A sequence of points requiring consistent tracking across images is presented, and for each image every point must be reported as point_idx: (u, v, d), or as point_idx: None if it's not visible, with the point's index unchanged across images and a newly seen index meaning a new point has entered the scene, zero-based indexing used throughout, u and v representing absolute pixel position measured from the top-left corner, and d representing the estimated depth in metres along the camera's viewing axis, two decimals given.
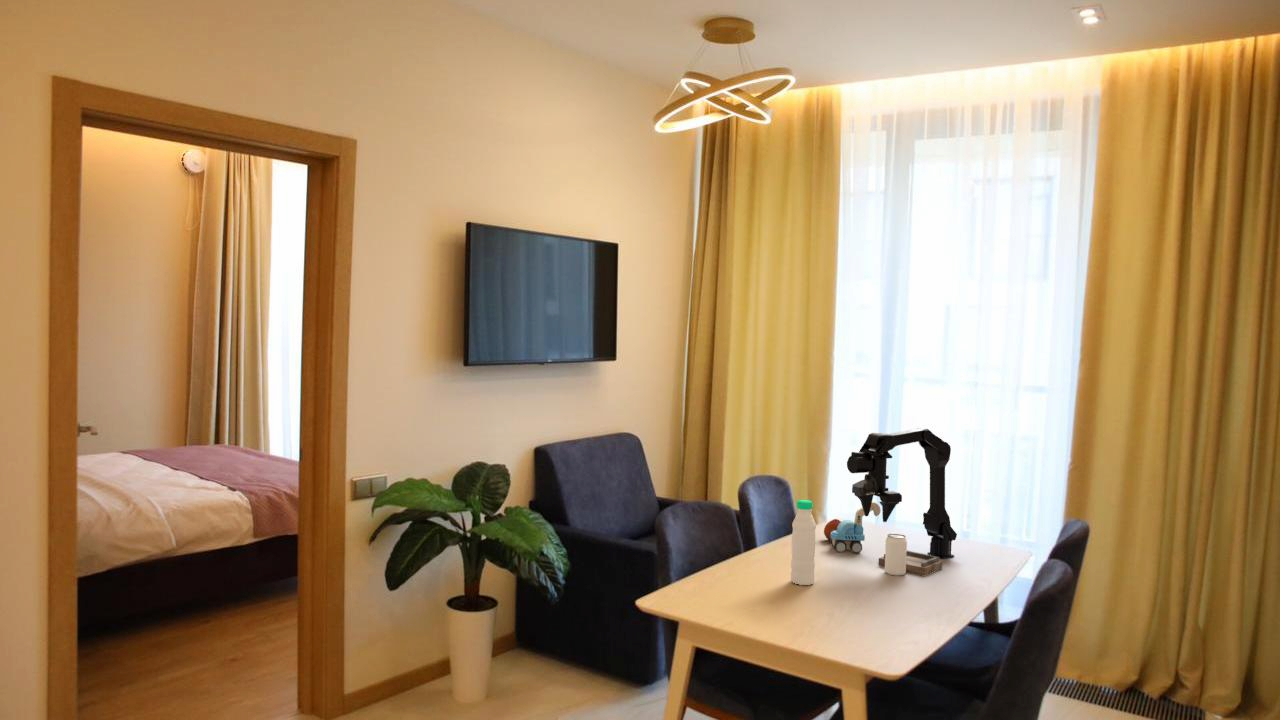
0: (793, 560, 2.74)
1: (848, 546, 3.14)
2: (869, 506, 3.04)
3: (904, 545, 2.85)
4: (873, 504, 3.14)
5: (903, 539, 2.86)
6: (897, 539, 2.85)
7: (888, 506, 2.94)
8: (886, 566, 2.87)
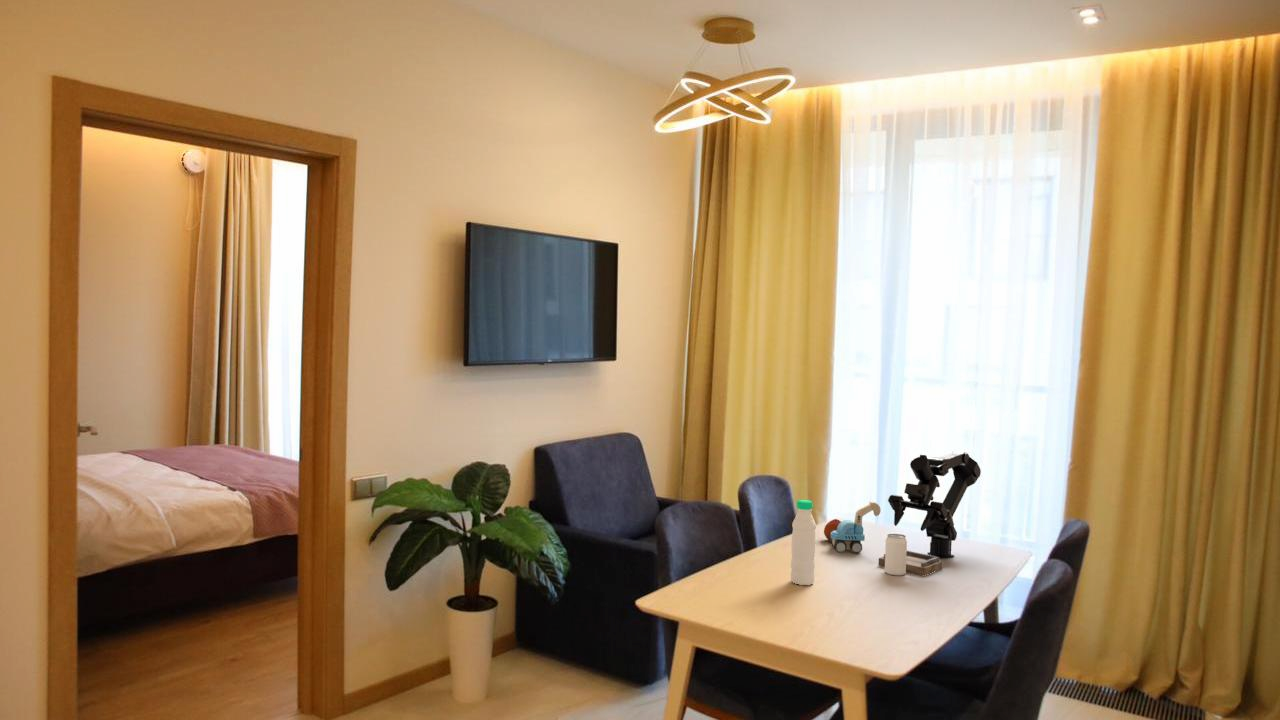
0: (793, 560, 2.74)
1: (848, 546, 3.14)
2: (899, 519, 2.99)
3: (904, 545, 2.85)
4: (873, 504, 3.14)
5: (903, 539, 2.86)
6: (897, 539, 2.85)
7: (930, 518, 2.92)
8: (886, 566, 2.87)
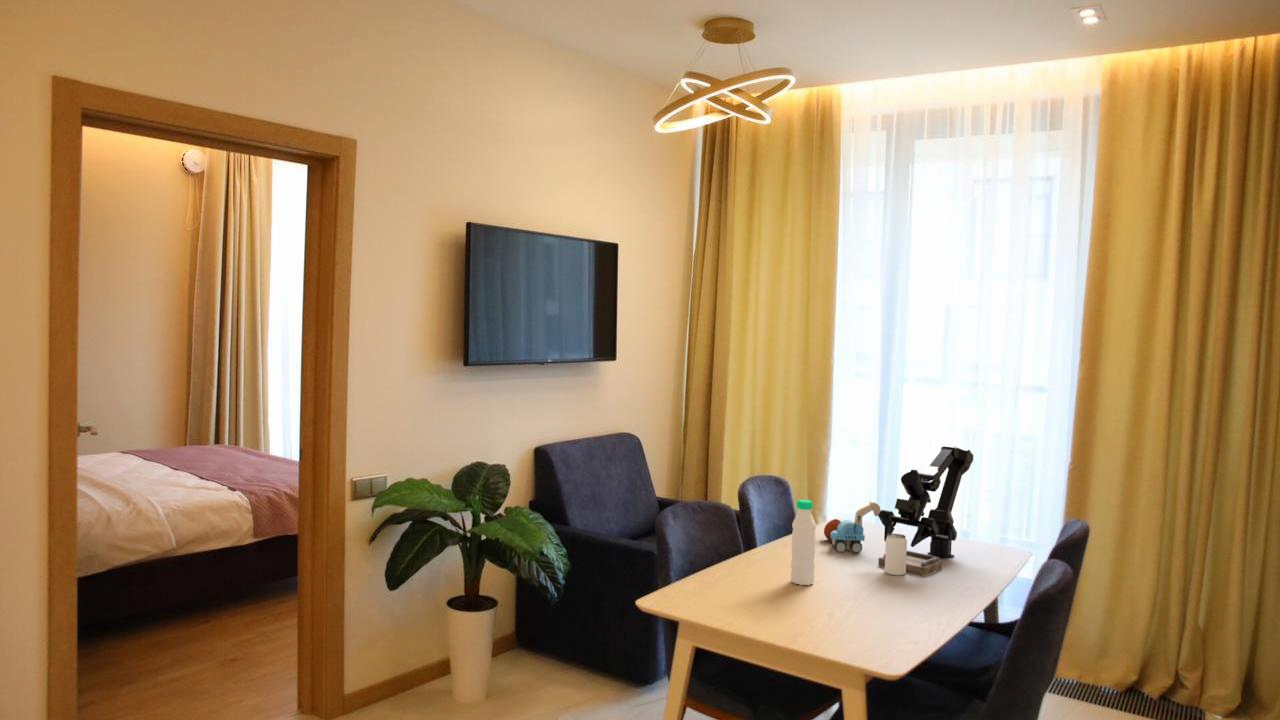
0: (793, 560, 2.74)
1: (848, 546, 3.14)
2: None
3: (904, 545, 2.85)
4: (873, 504, 3.14)
5: (903, 539, 2.86)
6: (897, 539, 2.85)
7: (921, 534, 2.88)
8: (886, 566, 2.87)
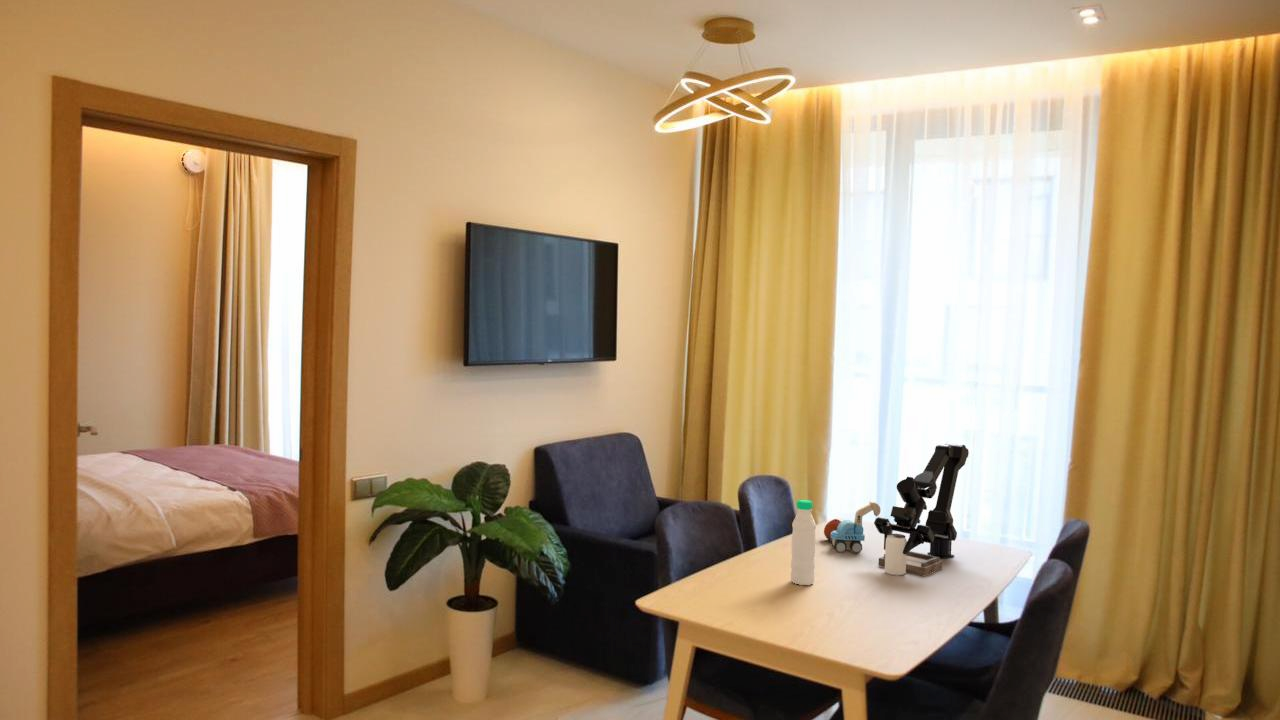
0: (793, 560, 2.74)
1: (848, 546, 3.14)
2: None
3: (904, 545, 2.85)
4: (873, 504, 3.14)
5: (903, 539, 2.86)
6: (897, 539, 2.85)
7: (913, 541, 2.87)
8: (886, 566, 2.87)
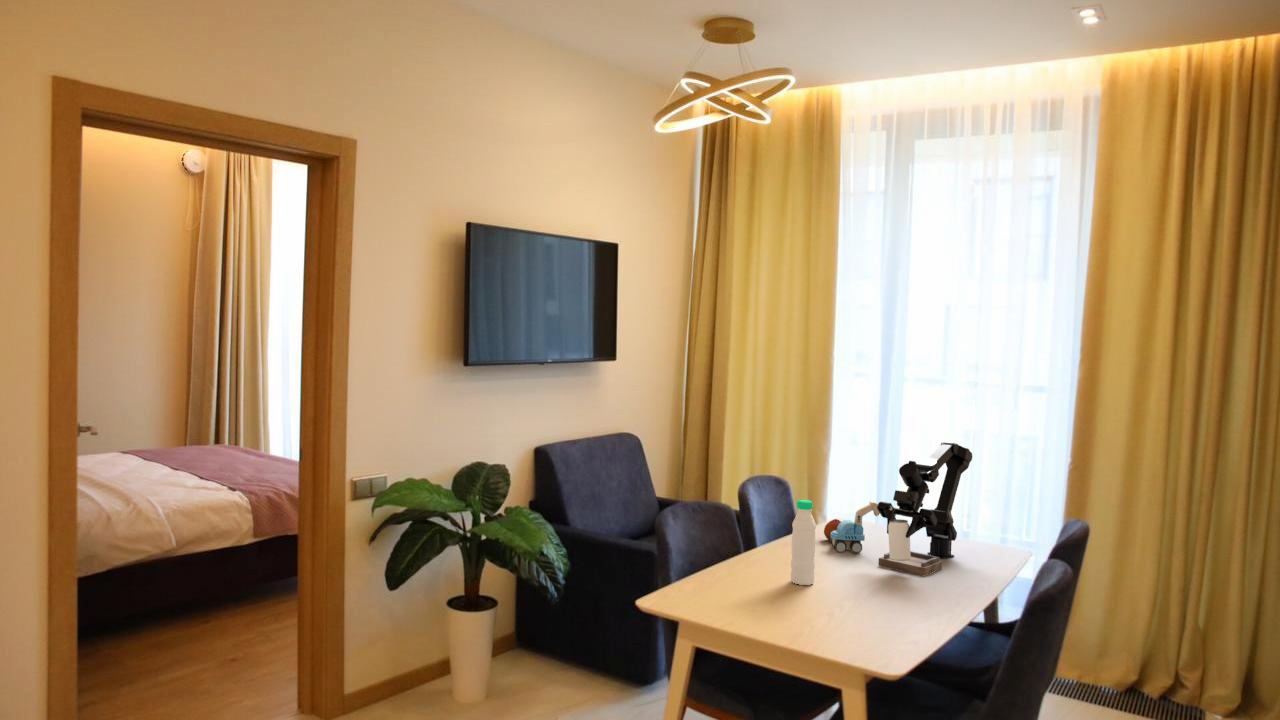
0: (793, 560, 2.74)
1: (848, 546, 3.14)
2: None
3: (906, 529, 2.86)
4: (873, 504, 3.14)
5: (905, 523, 2.87)
6: (899, 524, 2.86)
7: (916, 524, 2.88)
8: (890, 552, 2.88)
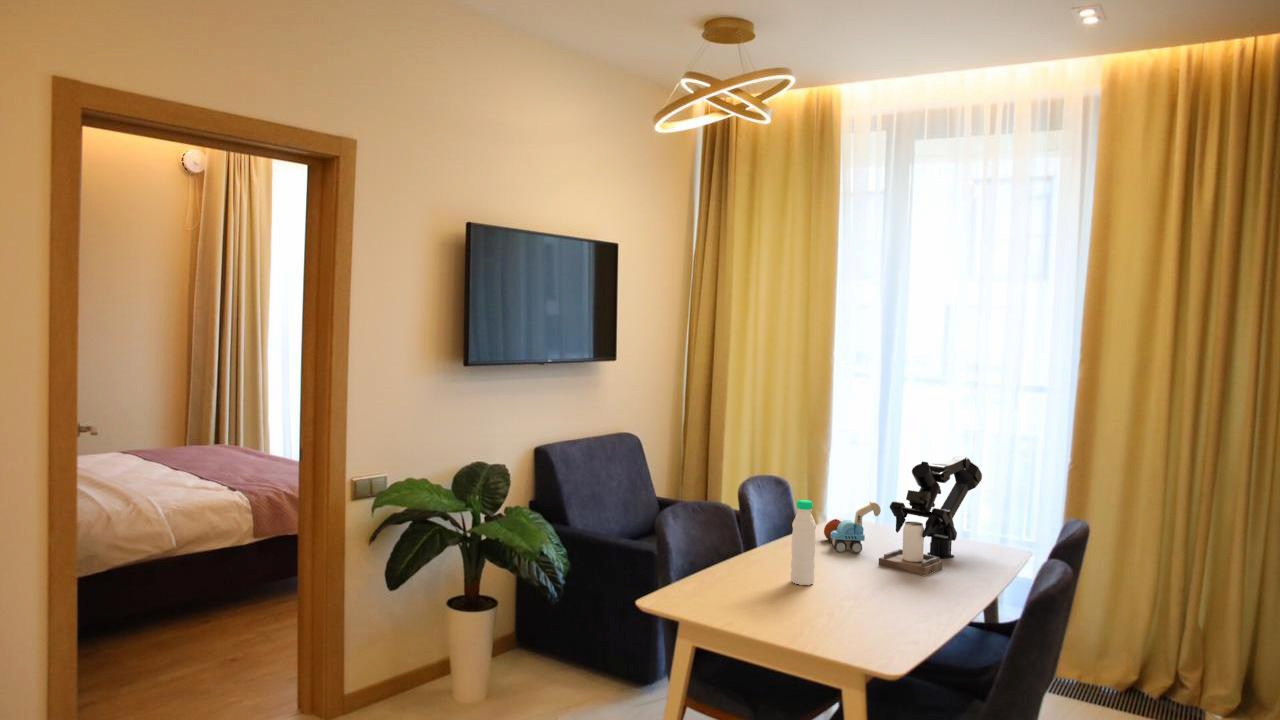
0: (793, 560, 2.74)
1: (848, 546, 3.14)
2: (901, 525, 3.00)
3: (921, 532, 2.92)
4: (873, 504, 3.14)
5: (920, 527, 2.92)
6: (914, 526, 2.92)
7: (932, 524, 2.93)
8: (904, 553, 2.94)
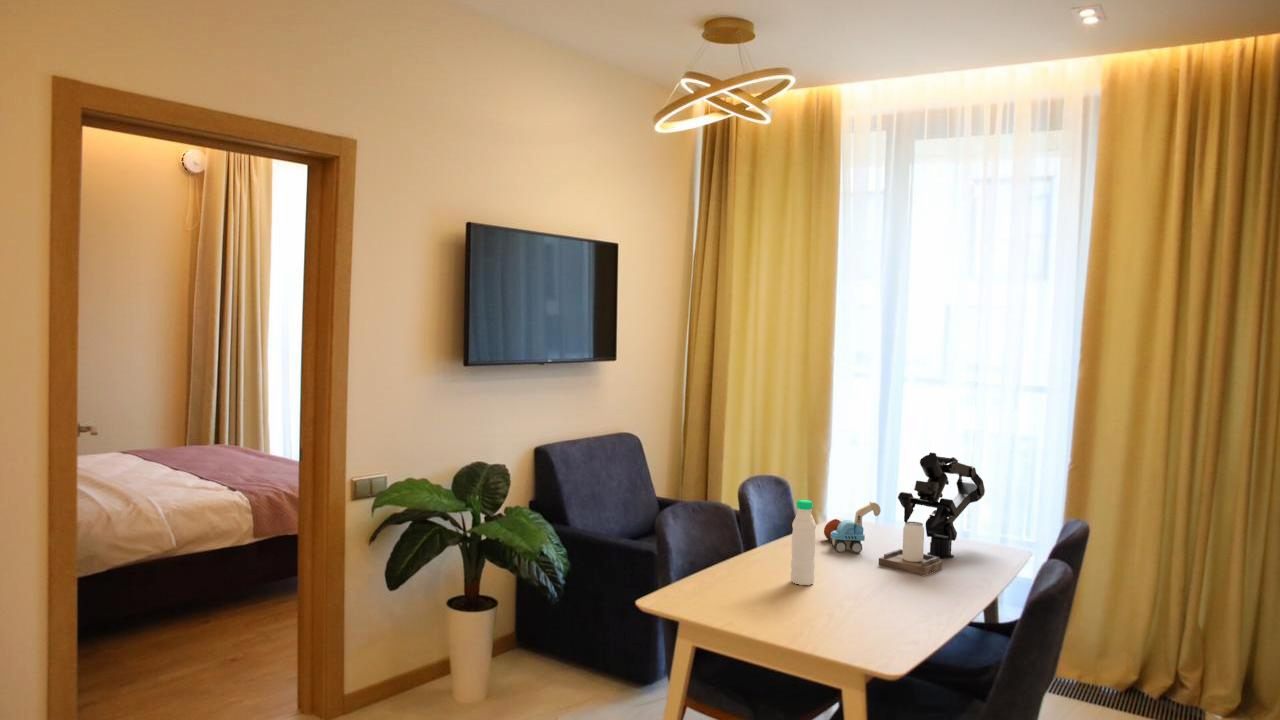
0: (793, 560, 2.74)
1: (848, 546, 3.14)
2: (909, 516, 3.03)
3: (921, 532, 2.92)
4: (873, 504, 3.14)
5: (920, 527, 2.92)
6: (914, 527, 2.92)
7: (940, 514, 2.97)
8: (904, 553, 2.94)
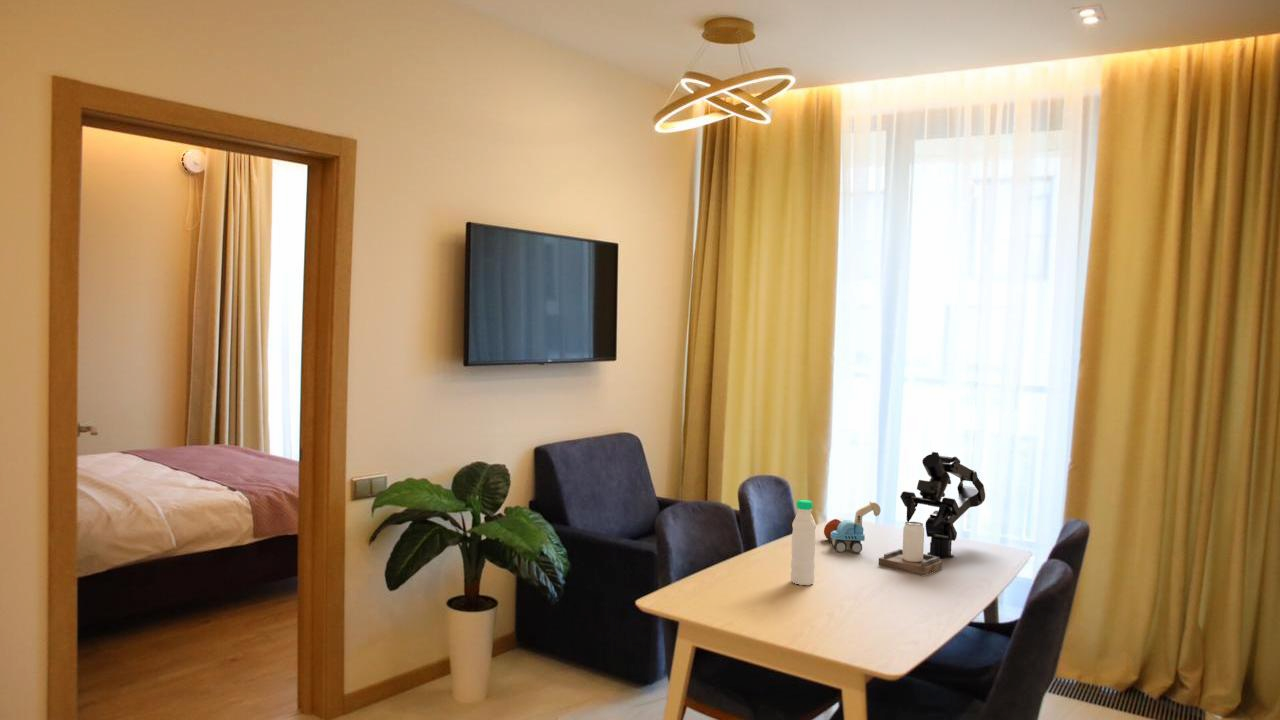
0: (793, 560, 2.74)
1: (848, 546, 3.14)
2: (911, 515, 3.05)
3: (921, 532, 2.92)
4: (873, 504, 3.14)
5: (920, 527, 2.92)
6: (914, 527, 2.92)
7: (942, 513, 2.98)
8: (904, 553, 2.94)
